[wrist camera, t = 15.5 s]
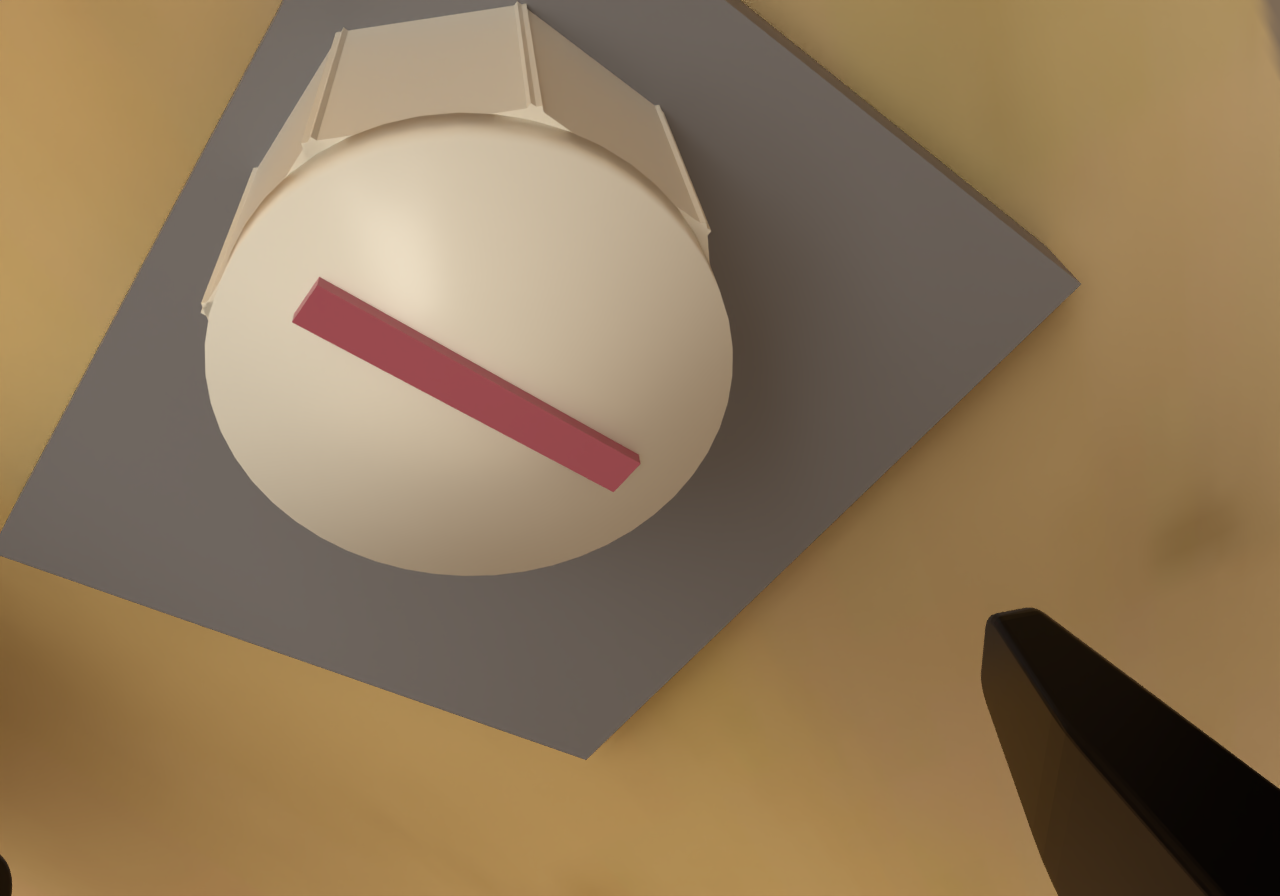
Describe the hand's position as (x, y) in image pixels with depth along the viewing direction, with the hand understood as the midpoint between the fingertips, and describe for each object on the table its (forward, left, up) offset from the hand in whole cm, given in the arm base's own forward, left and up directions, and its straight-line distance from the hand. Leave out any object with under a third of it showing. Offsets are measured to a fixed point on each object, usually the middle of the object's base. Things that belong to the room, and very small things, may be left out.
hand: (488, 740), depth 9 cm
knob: (0, 0, -10) cm, 10 cm away
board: (-3, -3, -12) cm, 13 cm away
